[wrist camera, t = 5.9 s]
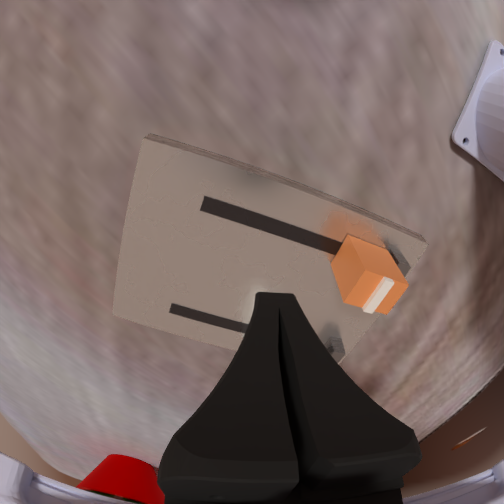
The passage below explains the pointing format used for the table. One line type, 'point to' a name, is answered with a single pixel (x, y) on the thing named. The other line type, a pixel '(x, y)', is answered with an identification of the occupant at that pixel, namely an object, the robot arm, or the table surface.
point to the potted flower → (124, 480)
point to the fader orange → (367, 276)
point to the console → (239, 248)
